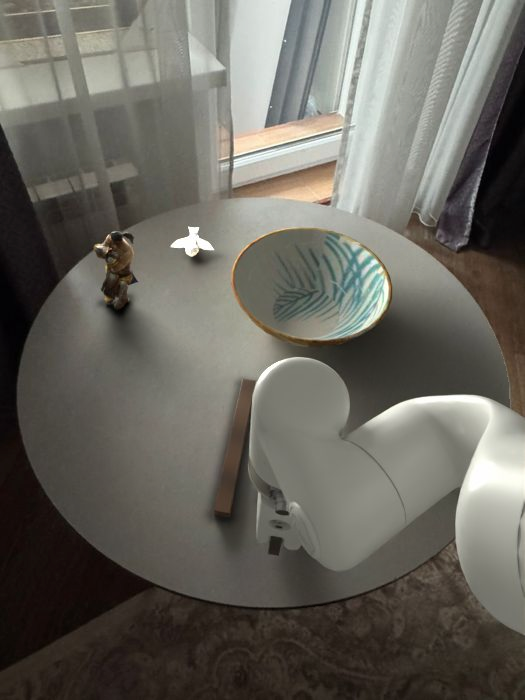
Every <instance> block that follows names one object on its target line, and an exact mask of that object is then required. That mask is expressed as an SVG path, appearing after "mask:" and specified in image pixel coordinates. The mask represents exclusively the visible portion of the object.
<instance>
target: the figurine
mask: <svg viewBox="0 0 525 700" xmlns="http://www.w3.org/2000/svg"><path fill="white" fill-rule="evenodd" d="M127 239H128V240H129V242H130V243H131V244H132V245H133V244H134V239H135V237H134V235H133V234H132V233H130V232H129V231H127V230H125V231H124V232H123V233H122V232H121V231H117V230H115V231H111V232H110V233H109V234H108V235H107V236H106V238H105V240H104V242H102V243H96V244H95V245H93V251H94V253H95V254H96V257H97V258H99V259H102V260H104V261H105V279H104V281H103V282H102V285H101V288H100V291H101V292H102V293H103V297H104V299H103V302H104V303H105V304H107V305H112V304H113V302H114V301H115V302H114V304H113V307H114V309H115V310H117V311H119V310H121V309H122V308H123V307H125V305H126V303H129V302H130V300H131V299H130V297H129V294H128V290H129V286H131V285H134V284H136V283H139V281H138V280H137V278H136V276H135V274H134V272H133V269H132V268H131V264H132V261H133V260H134V257H135V254H134V250H133V247H132V246H131V244H130V243H129V242H127V241H126V240H127ZM117 298H118V299H117Z"/></svg>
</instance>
